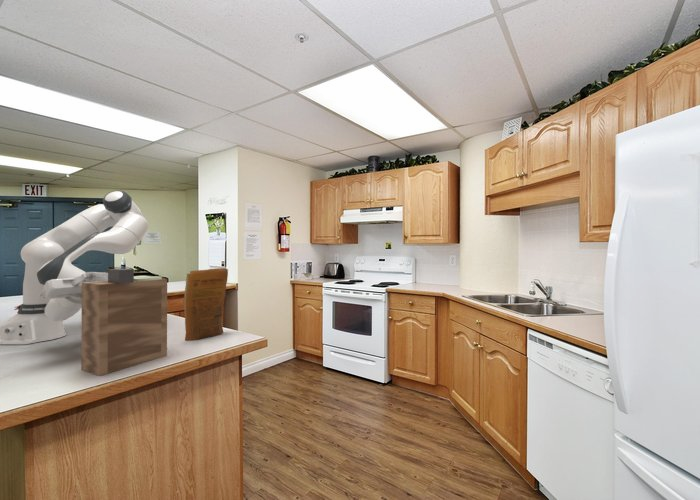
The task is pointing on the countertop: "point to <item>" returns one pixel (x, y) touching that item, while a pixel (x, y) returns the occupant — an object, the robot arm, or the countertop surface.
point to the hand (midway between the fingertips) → (95, 274)
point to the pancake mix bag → (204, 303)
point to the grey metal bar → (113, 276)
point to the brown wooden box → (123, 324)
